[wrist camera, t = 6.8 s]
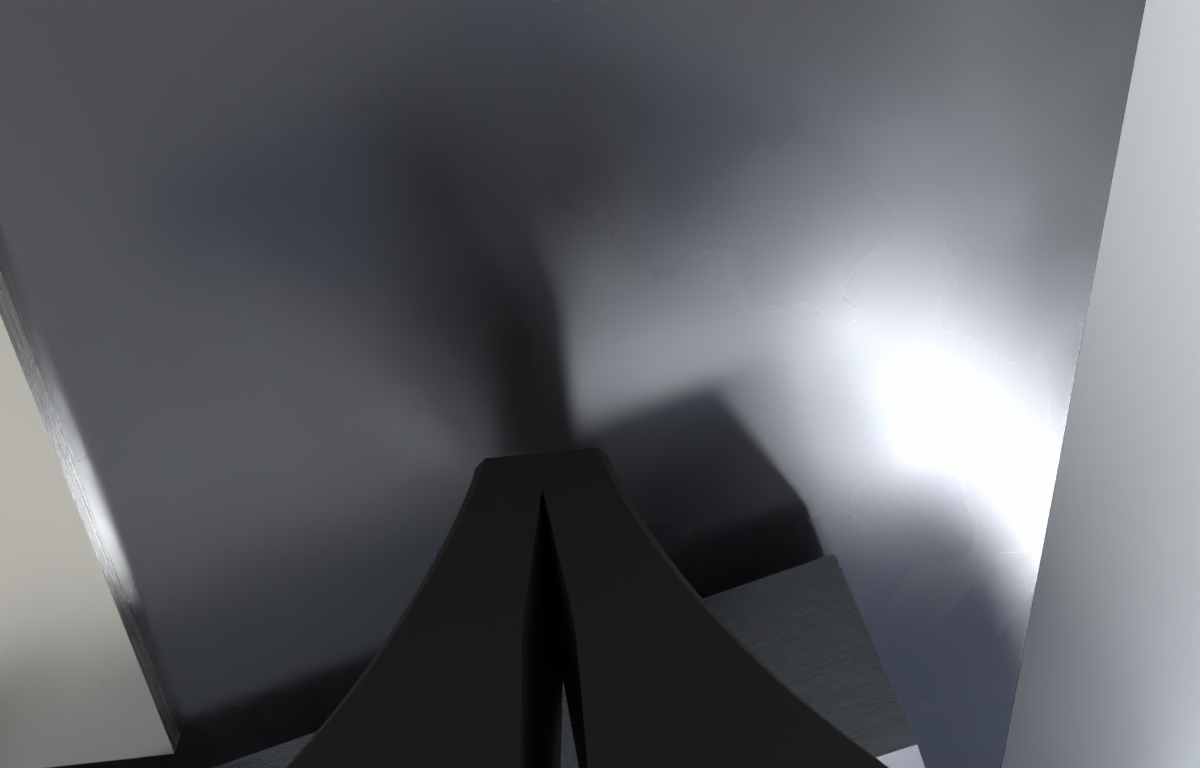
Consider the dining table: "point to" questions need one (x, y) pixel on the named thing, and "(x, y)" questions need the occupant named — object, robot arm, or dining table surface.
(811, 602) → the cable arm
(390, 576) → the psu panel
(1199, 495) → the dining table surface
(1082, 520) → the dining table surface
